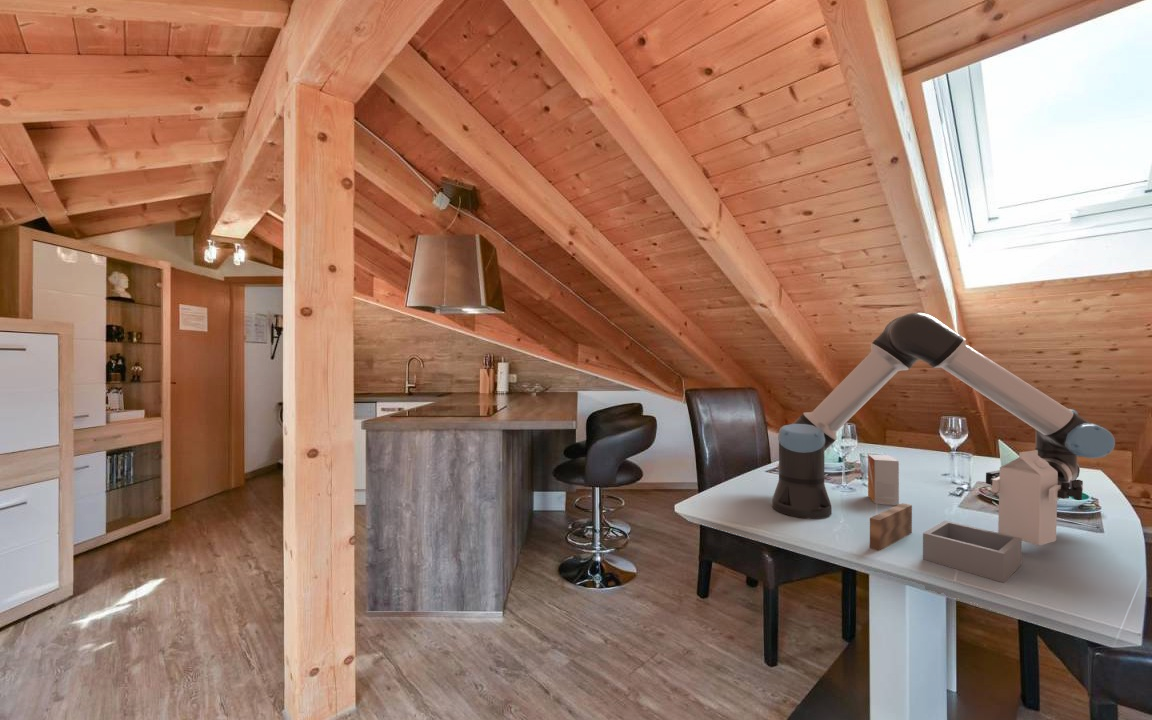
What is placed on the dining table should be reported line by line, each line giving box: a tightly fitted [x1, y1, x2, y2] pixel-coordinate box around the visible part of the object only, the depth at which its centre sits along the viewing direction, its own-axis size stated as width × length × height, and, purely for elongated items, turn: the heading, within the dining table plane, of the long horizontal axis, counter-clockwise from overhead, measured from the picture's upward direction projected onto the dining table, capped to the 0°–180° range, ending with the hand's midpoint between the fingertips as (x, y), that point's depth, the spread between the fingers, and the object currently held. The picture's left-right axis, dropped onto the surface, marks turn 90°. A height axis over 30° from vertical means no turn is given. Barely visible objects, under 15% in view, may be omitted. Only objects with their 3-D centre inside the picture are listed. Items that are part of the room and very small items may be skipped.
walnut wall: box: [869, 502, 913, 552], centre depth 111 cm, size 18×2×7 cm, turn 126°
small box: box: [867, 454, 900, 506], centre depth 142 cm, size 8×6×13 cm
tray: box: [922, 520, 1023, 584], centre depth 99 cm, size 13×13×6 cm
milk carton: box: [997, 449, 1058, 546], centre depth 104 cm, size 7×7×19 cm
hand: (1022, 491), depth 101 cm, fingers closed on milk carton, 8 cm apart
